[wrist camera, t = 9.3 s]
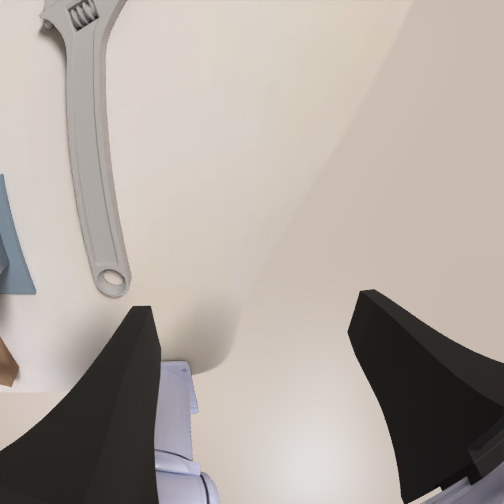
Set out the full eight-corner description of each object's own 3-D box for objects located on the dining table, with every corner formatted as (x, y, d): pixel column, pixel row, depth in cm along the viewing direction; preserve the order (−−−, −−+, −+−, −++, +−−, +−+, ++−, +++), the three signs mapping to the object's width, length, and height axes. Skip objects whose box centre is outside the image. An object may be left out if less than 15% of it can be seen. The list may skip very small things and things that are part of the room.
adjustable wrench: (136, 284, 21) (133, 299, 20) (63, 281, 20) (56, 295, 18) (154, -58, 9) (150, -70, 7) (65, -41, 8) (55, -49, 6)
